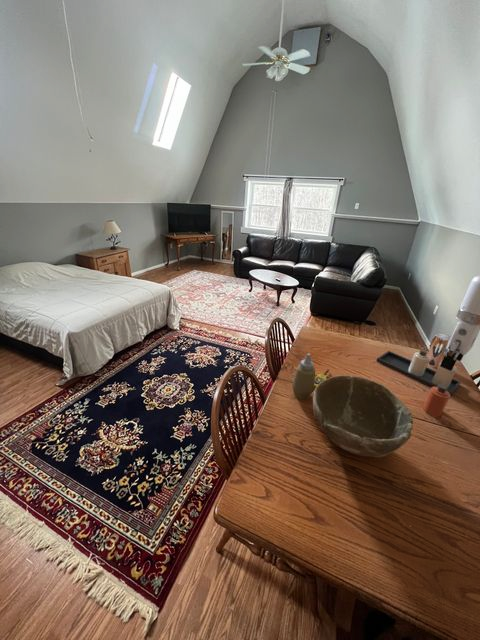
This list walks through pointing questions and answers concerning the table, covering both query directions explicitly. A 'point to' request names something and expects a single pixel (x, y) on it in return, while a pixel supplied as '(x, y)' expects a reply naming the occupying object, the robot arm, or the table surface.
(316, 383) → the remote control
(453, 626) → the table surface
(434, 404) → the terracotta bottle
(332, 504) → the table surface
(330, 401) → the bowl
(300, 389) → the squeeze bottle
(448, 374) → the cream bottle
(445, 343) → the beer glass
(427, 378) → the tray
